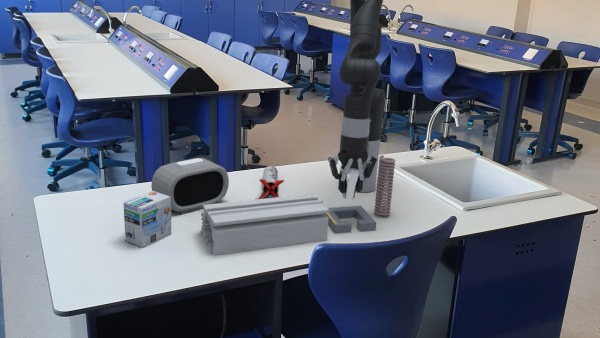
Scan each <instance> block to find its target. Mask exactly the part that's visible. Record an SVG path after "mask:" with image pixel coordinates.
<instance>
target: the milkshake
mask: <svg viewBox="0 0 600 338" xmlns="http://www.w3.org/2000/svg"><path fill="white" fill-rule="evenodd" d="M344 169H345V168H344ZM358 178H359V170H358V169H353V168H351V169H349V172H348V174H347V175H346V178H345V181H346V183H345V193H343V194H342V198H343V199H345V200H354V199H355V197H356V196H355V195H356V193H357V192H356V188H357V183H358Z"/></svg>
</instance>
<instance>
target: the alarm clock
mask: <svg viewBox="0 0 600 338" xmlns="http://www.w3.org/2000/svg"><path fill="white" fill-rule="evenodd" d="M229 179H230V178H229V174H228V172H227V170H226V169H225V167H223V166H221V165H219V164H217V163H215V162H213V161H210V160H208V159H206V158H204V157H197V158H191V159H185V160H179V161H175V162H171V163H167V164H165V165H161V166H159V168H157V169H156V170H155V172H154V174H153V175H152V179H151V191H155V192H158V193H161V194H164V195H167V196H170V197H171V211H172V210H173V211H175V212H177V213H180V214H186V213H189V212H192V211H196V210H200V209H203V205H207V204H217V203H218V202H220V201H222V200H223V199H224V198H225V197H226V194H227V193H228V189H229V183H230V180H229Z"/></svg>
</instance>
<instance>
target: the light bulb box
mask: <svg viewBox="0 0 600 338" xmlns="http://www.w3.org/2000/svg"><path fill="white" fill-rule="evenodd" d="M122 203H123V219H124V220H123V221H124V223H123V224H124V238H125V239H124V240H125V241H126V242H128V243H131V244H133V245H135V246H137V247H141V248H145V247H147V246H149V245H151V244H153V243H155V242H157V241H160V240H162V239H164V238H166V237H168V236H171V235H172V209H171V197H170V196H167V195H164V194H161V193H158V192H155V191H152V190H151V191H150V192H147V193H144V194H141V195H139V196H137V197H134V198H131V199H129V200H125V201H124V202H122Z"/></svg>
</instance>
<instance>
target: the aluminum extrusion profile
mask: <svg viewBox="0 0 600 338" xmlns="http://www.w3.org/2000/svg"><path fill="white" fill-rule="evenodd" d="M323 201H324V200H322V199H319V196H315V195H314V194H313V193H307V194H298V195H289V196H288V195H287V196H286V195H285V196H279V197H275V196H274V197H266V198H263V199H259V198H258V199H257V198H256V199H248V200H246V199H245V200H238V201H237V200H236V201H229V202H228V201H227V202H219V203H218V202H216V203H215V204H207V205H203V208H202V209H201V210H200V212H201V213H200V216H201V219H200V220H201V221H202V222H201V227H200V229H201V231H200V233H201V235H202V236H203V238H204V241H206V243H207V245H208V247H209V249H210V250H211V252H212V254H213V256H218V255H219V256H221V255H225V254H234V253H241V252H250V251H256V250H263V249H269V248H270V249H272V248H278V247H286V246H292V245H300V244H301V245H302V244H308V243H314V242H321V241H327V240H328V229H329V225H328V217H327V216H326V215H325V214H324V213H329V209H328V208H329V207H327V206H326V205H325V204H324V202H323Z"/></svg>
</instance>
